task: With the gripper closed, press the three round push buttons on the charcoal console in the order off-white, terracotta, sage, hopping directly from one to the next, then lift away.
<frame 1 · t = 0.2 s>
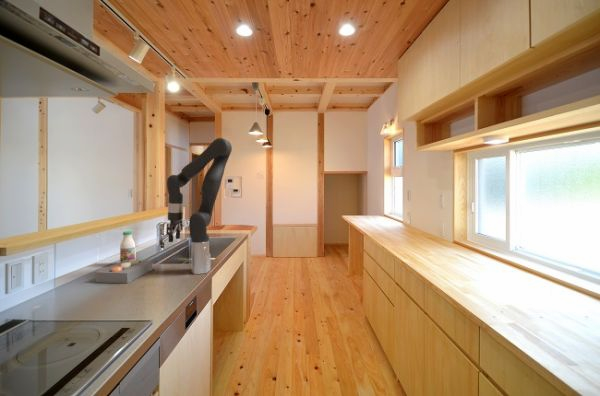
hand: (174, 240, 149), 17 cm above the counter, tool pointing down, fingers open, 8 cm apart
button console: (126, 275, 142), on the counter
milk bottle: (128, 265, 160), on the counter
terracotta button: (117, 271, 136), point 4 cm above the counter, slide at 0.0 cm
sage button: (134, 263, 149), point 4 cm above the counter, slide at 0.0 cm
off-white button: (125, 267, 142), point 4 cm above the counter, slide at 0.0 cm
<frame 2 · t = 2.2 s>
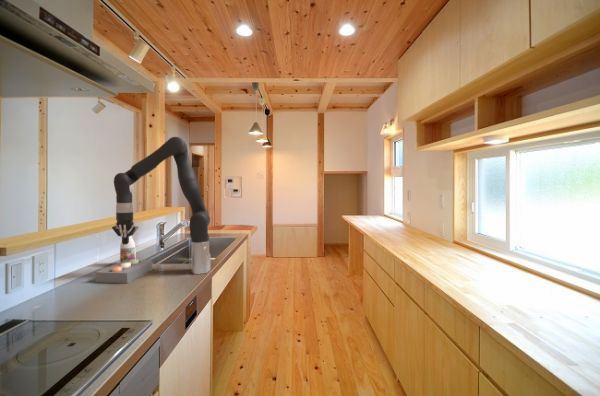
hand: (125, 244, 141), 17 cm above the counter, tool pointing down, fingers closed
nothing on the counter moved.
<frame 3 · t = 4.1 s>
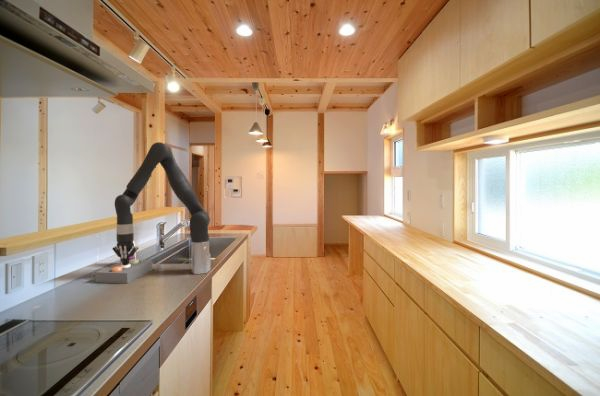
hand: (125, 264, 142), 6 cm above the counter, tool pointing down, fingers closed
off-white button: (126, 268, 142), point 4 cm above the counter, slide at 0.8 cm, touching gripper
everything else where it was.
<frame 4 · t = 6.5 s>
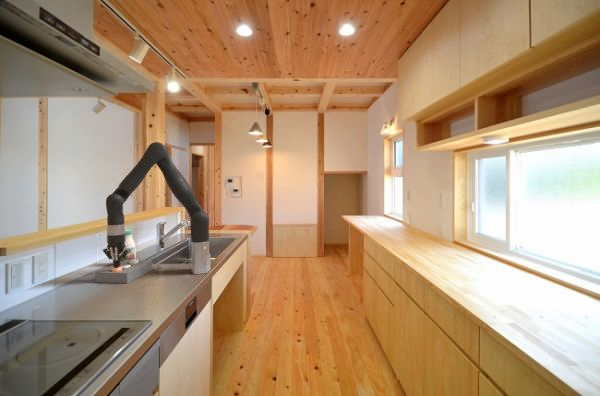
hand: (116, 267, 135), 6 cm above the counter, tool pointing down, fingers closed
terracotta button: (117, 271, 136), point 4 cm above the counter, slide at 0.1 cm, touching gripper
off-white button: (126, 269, 142), point 3 cm above the counter, slide at 1.4 cm
everything else where it was.
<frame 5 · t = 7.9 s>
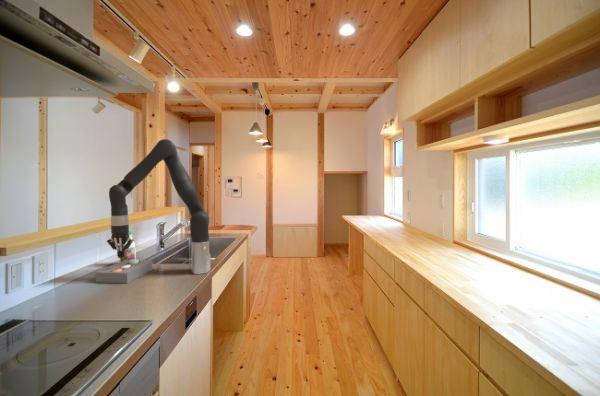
hand: (121, 257, 138), 11 cm above the counter, tool pointing down, fingers closed
terracotta button: (117, 273, 136), point 3 cm above the counter, slide at 1.4 cm
everything else where it was.
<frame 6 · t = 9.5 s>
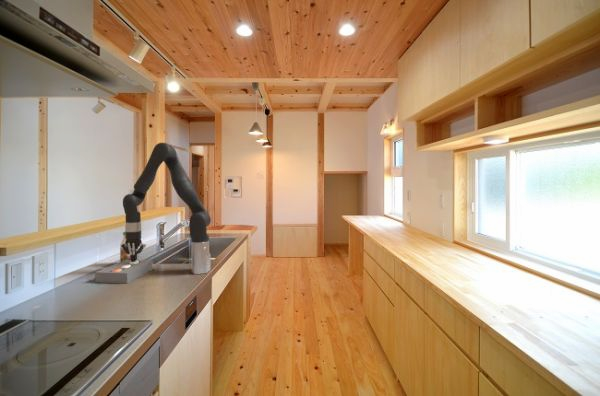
hand: (133, 261, 149), 6 cm above the counter, tool pointing down, fingers closed
sage button: (134, 264, 149), point 4 cm above the counter, slide at 0.8 cm, touching gripper
everything else where it was.
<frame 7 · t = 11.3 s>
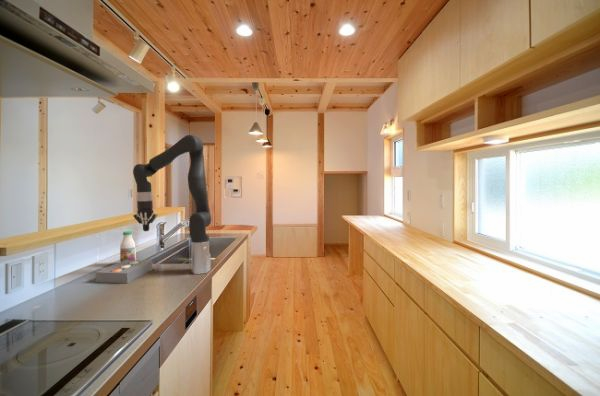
hand: (146, 231, 151), 22 cm above the counter, tool pointing down, fingers closed
sage button: (134, 265, 149), point 3 cm above the counter, slide at 1.4 cm
everything else where it was.
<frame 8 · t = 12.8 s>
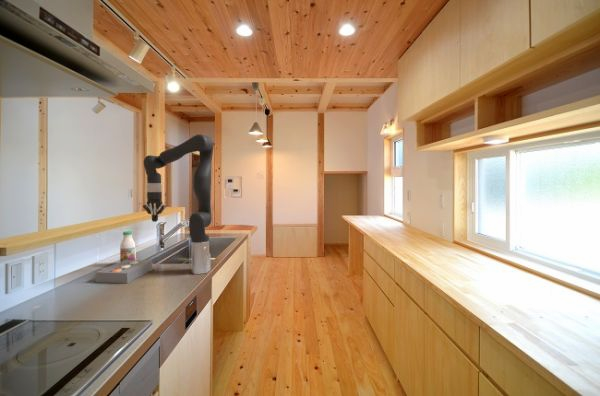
hand: (154, 221, 154), 27 cm above the counter, tool pointing down, fingers closed
nothing on the counter moved.
at the end: off-white button slide at 1.4 cm; terracotta button slide at 1.4 cm; sage button slide at 1.4 cm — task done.
